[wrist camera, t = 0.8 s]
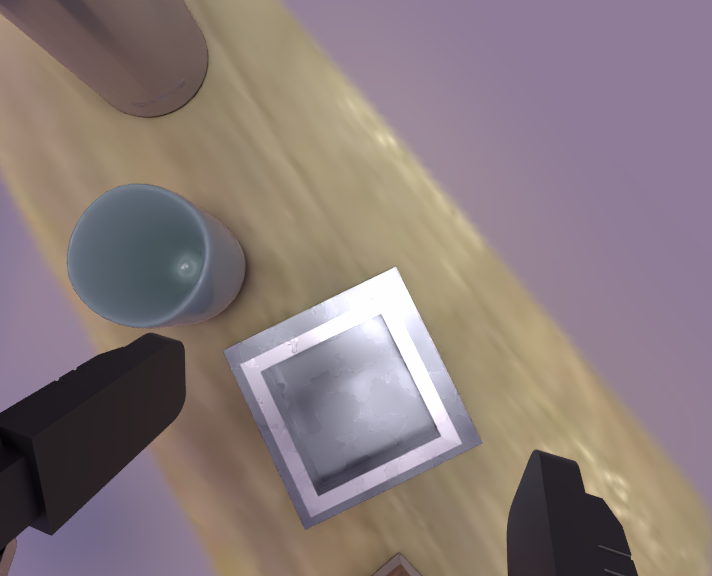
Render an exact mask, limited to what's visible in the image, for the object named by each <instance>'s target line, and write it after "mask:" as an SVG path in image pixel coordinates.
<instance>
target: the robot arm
mask: <svg viewBox="0 0 712 576" xmlns="http://www.w3.org/2000/svg"><path fill="white" fill-rule="evenodd" d="M0 13H1V14H2V15H3V16H4V17H6V18H7V19H8V20H9V21H11V22H12V23H13V24H14V25H15V26H17V27H18V28H19V29H20V30H21V31H23V32H24V33H25V34H26V35H28V36H29V37H30V38H31V39H32V40H34V41H35V42H36V43H37V44H38V45H40V46H41V47H42V48H43V49H44V50H46V51H47V52H48V53H49V54H51V55H52V56H53V57H54V58H55V59H57V60H58V61H59V62H60V63H61V64H63V65H64V66H65V67H66V68H68V69H69V70H70V71H71V72H72V73H74V74H75V75H76V76H77V77H78V78H79V79H81V80H82V81H83V82H84V83H86V84H87V85H88V86H89V87H90V88H92V89H93V90H94V91H95V92H97V93H98V94H99V95H100V96H102V97H103V98H104V99H105V100H106V101H108V102H109V103H110V104H111V105H113V106H114V107H115V108H117V109H119V110H121V111H123V112H125V113H128V114H131V115H135V116H142V117H153V116H160V115H164V114H166V113H169V112H172V111H174V110H176V109H178V108H179V107H181V106H182V105H184V104H185V103H186V102H187V101H188V100H189V99H191V98H192V97H193V96H194V94H195V93H196V91H197V90H198V89H199V87H200V86H201V83H202V81H203V79H204V76H205V74H206V69H207V63H208V53H207V47H206V42H205V39H204V37H203V35H202V32H201V30H200V28H199V27H198V25H197V23H196V21H195V20H194V18H193V16H192V15H191V13H190V11H189V9H188V8H187V6H186V4H185V2H184V1H183V0H0ZM185 396H186V385H185V349H184V345H183V344H182V342H180V341H178V340H174V339H171V338H168V337H164V336H161V335H158V334H154V333H147V334H145V335H143V336H142V337H140V338H138V339H137V340H135V341H133V342H132V343H130V344H129V345H127V346H125V347H121V348H117V349H114V350H111V351H108V352H105V353H102V354H99V355H97V356H95V357H94V358H92V359H90V360H89V361H87V362H85V363H83V364H82V365H80V366H78V367H77V369H76V370H72V371H70V372H68V373H67V374H65V375H63V376H62V377H60V378H59V380H58V381H53V382H51V383H50V384H48V385H47V386H45V387H43V388H41V389H40V390H38V391H36V392H35V393H33V394H31V395H30V396H28V397H26V398H24V399H23V400H21V401H19V402H18V403H16V404H14V405H13V406H11V407H9V408H8V409H6V410H4V411H3V412H1V413H0V576H8V573H9V570H10V567H11V564H12V561H13V558H14V555H15V552H16V548H17V540H16V537H17V536H18V535H19V534H20V533H21V532H22V531H23V530H24V529H26V528H27V527H28V526H31V527H33V528H35V529H38V530H40V531H42V532H44V533H46V534H49V535H53V534H54V533H55V532H56V531H57V530H58V529H59V528H60V527H61V526H62V525H64V523H66V522H67V521H68V520H69V519H70V518H71V517H72V516H73V515H74V514H75V513H76V512H77V511H78V510H79V509H80V508H82V507H83V506H84V505H85V504H86V503H87V502H88V501H89V500H90V499H91V498H92V497H93V496H94V495H95V494H96V493H98V492H99V491H100V490H101V489H102V488H103V487H104V486H105V485H106V484H107V483H108V482H109V481H110V480H111V479H112V478H114V476H116V475H117V474H118V473H119V472H120V471H121V470H122V469H123V468H124V467H125V466H126V465H127V464H128V463H129V462H130V461H132V460H133V459H134V457H136V456H137V455H138V454H139V453H140V452H141V451H142V450H143V449H144V448H145V447H146V446H148V445H149V444H150V443H151V442H152V441H153V440H154V439H155V438H156V437H157V436H158V435H159V434H160V433H161V432H162V431H163V430H165V429H166V428H167V427H168V426H169V425H170V424H171V423H172V422H173V421H174V420H175V419H176V418H177V416H178V415H179V413H180V411H181V409H182V407H183V405H184V401H185ZM507 564H508V576H638V574H637V571H636V568H635V565H634V561H633V560H631V552H630V549H629V546H628V543H627V539H626V536H625V533H624V530H623V527H622V525H621V524H620V522H619V521H618V519H617V518H616V517H615V515H614V514H613V512H612V511H611V510H610V508H609V507H608V505H607V504H606V503H605V501H604V500H603V498H599V497H596V496H593V495H590V494H587V493H585V489H584V485H583V481H582V477H581V473H580V469H579V466H578V464H577V462H576V461H573V460H570V459H566V458H563V457H560V456H556V455H553V454H550V453H546V452H543V451H540V450H534V451H533V452H532V454H531V456H530V458H529V461H528V464H527V466H526V469H525V471H524V474H523V476H522V479H521V481H520V484H519V487H518V489H517V492H516V494H515V497H514V499H513V502H512V505H511V508H510V512H509V517H508V524H507Z"/></svg>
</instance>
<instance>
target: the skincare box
mask: <svg viewBox="0 0 712 576" xmlns="http://www.w3.org/2000/svg"><path fill="white" fill-rule="evenodd" d="M373 576H421V575H420V574H419V573H418V572H417V571H416V570H415V569H414V567H413V566H412V565H411V564H410V563H409V562H408V561H407V560H406V559H405V558H404V557H403V555H402V554H401V553H398V554H397V555H396V556H395V557H393V558H392V559H391V560H390V561H389V562H388V563H386V564H385V565H384V566H383V567H382V568H381V569H380V570H378V571H377V572H376V573H375V574H374V575H373Z"/></svg>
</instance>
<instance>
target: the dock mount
mask: <svg viewBox="0 0 712 576" xmlns="http://www.w3.org/2000/svg"><path fill="white" fill-rule="evenodd" d="M223 352H224V354H225V357H226V359H227V361H228V363H229V365H230V367H231V370H232V372H233V374H234V376H235V378H236V381H237V383H238V385H239V387H240V389H241V391H242V394H243V396H244V398H245V400H246V402H247V404H248V407H249V409H250V411H251V413H252V415H253V417H254V420H255V422H256V424H257V426H258V428H259V431H260V433H261V435H262V437H263V439H264V441H265V444H266V446H267V448H268V450H269V452H270V454H271V457H272V459H273V461H274V463H275V465H276V467H277V470H278V472H279V474H280V476H281V478H282V480H283V483H284V485H285V487H286V489H287V491H288V494H289V496H290V498H291V500H292V502H293V504H294V507H295V509H296V511H297V513H298V515H299V517H300V520H301V522H302V524H303V526H304V528H305V530H306V529H308V528H310V527H312V526H314V525H316V524H318V523H320V522H322V521H324V520H326V519H328V518H330V517H332V516H335V515H337V514H339V513H341V512H343V511H345V510H347V509H349V508H351V507H353V506H355V505H357V504H359V503H361V502H363V501H365V500H367V499H369V498H371V497H373V496H375V495H377V494H380V493H382V492H384V491H386V490H388V489H390V488H392V487H394V486H396V485H398V484H400V483H402V482H404V481H406V480H408V479H410V478H412V477H414V476H416V475H418V474H420V473H422V472H425V471H427V470H429V469H431V468H433V467H435V466H437V465H439V464H441V463H443V462H445V461H447V460H449V459H451V458H453V457H455V456H457V455H459V454H461V453H463V452H465V451H467V450H470V449H472V448H474V447H476V446H478V445H480V444H482V441H481V439H480V437H479V435H478V433H477V431H476V429H475V427H474V425H473V423H472V421H471V419H470V417H469V415H468V413H467V411H466V409H465V406H464V404H463V402H462V400H461V398H460V396H459V394H458V392H457V390H456V388H455V386H454V384H453V382H452V380H451V378H450V376H449V374H448V372H447V370H446V368H445V366H444V364H443V362H442V360H441V358H440V356H439V354H438V352H437V350H436V348H435V346H434V344H433V342H432V339H431V337H430V335H429V333H428V331H427V329H426V327H425V325H424V323H423V321H422V319H421V317H420V315H419V313H418V311H417V309H416V307H415V305H414V303H413V301H412V299H411V297H410V295H409V293H408V291H407V289H406V287H405V285H404V283H403V281H402V279H401V277H400V274H399V272H398V270H397V268H396V267H395V268H392V269H390V270H388V271H386V272H384V273H382V274H380V275H378V276H376V277H374V278H372V279H370V280H368V281H366V282H364V283H361V284H359V285H357V286H355V287H353V288H351V289H349V290H347V291H345V292H343V293H341V294H339V295H337V296H335V297H333V298H330V299H328V300H326V301H324V302H322V303H320V304H318V305H316V306H314V307H312V308H310V309H308V310H306V311H304V312H302V313H300V314H297V315H295V316H293V317H291V318H289V319H287V320H285V321H283V322H281V323H279V324H277V325H275V326H273V327H271V328H269V329H266V330H264V331H262V332H260V333H258V334H256V335H254V336H252V337H250V338H248V339H246V340H244V341H242V342H240V343H238V344H235V345H233V346H231V347H229V348H227V349H225V350H223Z"/></svg>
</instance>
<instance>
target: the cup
mask: <svg viewBox="0 0 712 576" xmlns="http://www.w3.org/2000/svg"><path fill="white" fill-rule="evenodd" d="M67 268H68V275H69V278H70V281H71V283H72V286H73V288H74V290H75V291H76V293H77V294H78V296H79V297H80V299H81V300H82V301H83V302H84V303H85V304H86V305H87V306H88V307H89V308H90V309H91V310H93V311H94V312H96V313H97V314H99V315H100V316H102V317H103V318H105V319H107V320H110V321H112V322H114V323H117V324H120V325H124V326H128V327H132V328H149V329H156V328H170V327H180V326H186V325H191V324H196V323H201V322H204V321H206V320H208V319H211V318H213V317H215V316H217V315H218V314H220V313H221V312H222V311H224V310H225V309H226V308H227V307H228V306H229V305H230V304H231V303H232V302H233V301H234V299H235V298H236V296H237V295H238V293H239V291H240V289H241V286H242V284H243V281H244V277H245V270H246V262H245V256H244V252H243V250H242V248H241V246H240V243H239V242H238V241H237V239H236V238H235V237H234V235H233V234H232V232H231V231H230V230H229V229H228V228H226V227H225V226H224V225H223V224H222V223H221V222H220V221H219V220H217V219H216V218H215V217H214V216H212V215H211V214H209V213H208V212H206V211H205V210H203V209H202V208H200V207H198V206H197V205H195V204H194V203H192V202H191V201H189V200H187V199H186V198H184V197H183V196H181V195H179V194H177V193H174V192H172V191H169V190H167V189H165V188H162V187H158V186H153V185H149V184H128V185H123V186H118V187H116V188H114V189H112V190H109V191H107V192H106V193H104V194H103V195H102V196H100V197H99V198H97V199H96V200H95V201H94V202H93V203H92V204H91V205H90V206H89V207H88V208H87V209H86V210H85V212H84V213H83V215H82V216H81V218H80V219H79V221H78V222H77V224H76V226H75V229H74V231H73V233H72V235H71V239H70V243H69V246H68V252H67Z"/></svg>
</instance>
